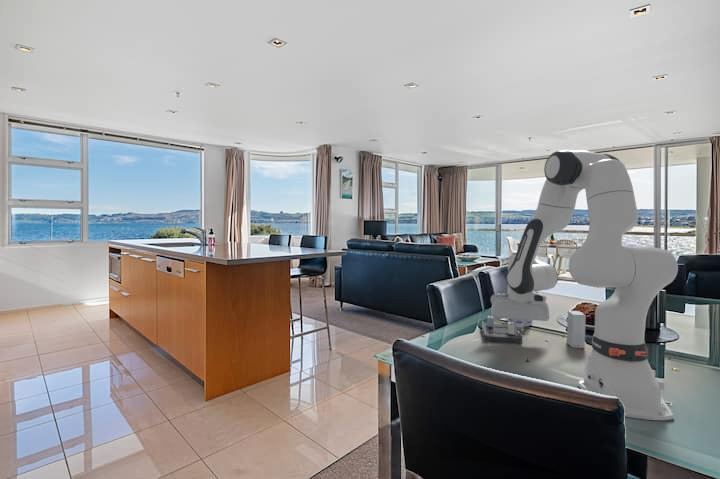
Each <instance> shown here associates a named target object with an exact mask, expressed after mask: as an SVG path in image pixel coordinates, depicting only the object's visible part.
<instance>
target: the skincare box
mask: <svg viewBox="0 0 720 479" xmlns="http://www.w3.org/2000/svg"><path fill="white" fill-rule="evenodd" d="M586 316H587V315H586V314H584V313H582V312H581V311H580V310H567V322H566V323H567V326H566V329H567V330H566V343H567V344H568V345H569V346H570V347H571V348H574V349H575V348H578V349H579V348H580V349H585V347H586V345H585V344H586V321H587V320H586Z"/></svg>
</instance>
